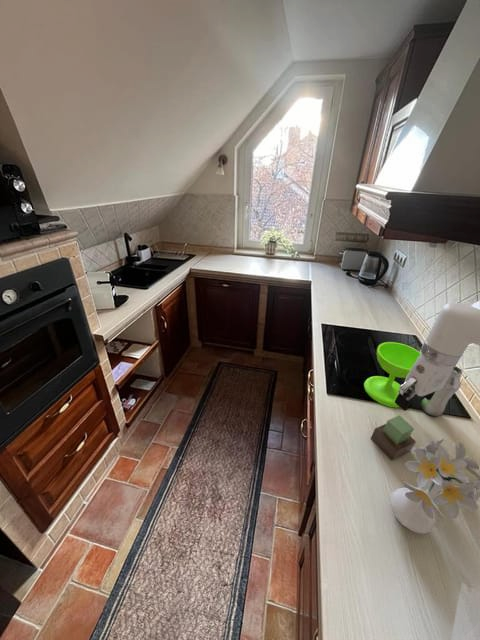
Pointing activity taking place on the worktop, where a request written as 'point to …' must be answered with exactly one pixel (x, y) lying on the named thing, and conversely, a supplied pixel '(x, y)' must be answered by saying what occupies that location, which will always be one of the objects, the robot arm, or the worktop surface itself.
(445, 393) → the plastic bottle
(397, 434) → the green block
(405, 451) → the walnut block
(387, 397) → the wineglass
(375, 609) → the worktop surface
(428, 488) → the flower vase
